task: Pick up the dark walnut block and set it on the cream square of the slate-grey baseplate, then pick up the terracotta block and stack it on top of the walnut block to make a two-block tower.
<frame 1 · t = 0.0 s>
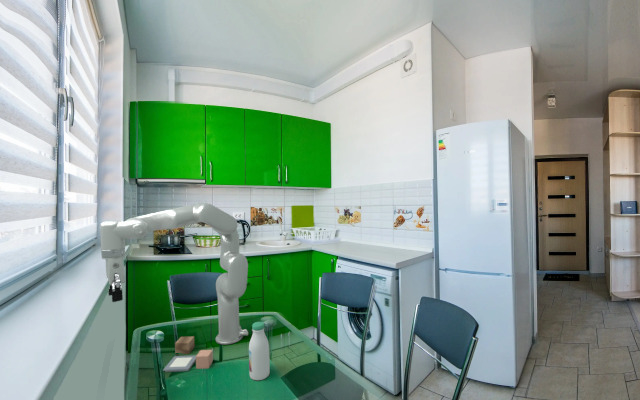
hand: (115, 297, 116), 31 cm above the table, tool pointing down, fingers open, 9 cm apart
walnut block: (185, 350, 137), on the table
milk bottle: (259, 375, 117), on the table
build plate: (181, 364, 126), on the table
terracotta block: (204, 365, 125), on the table
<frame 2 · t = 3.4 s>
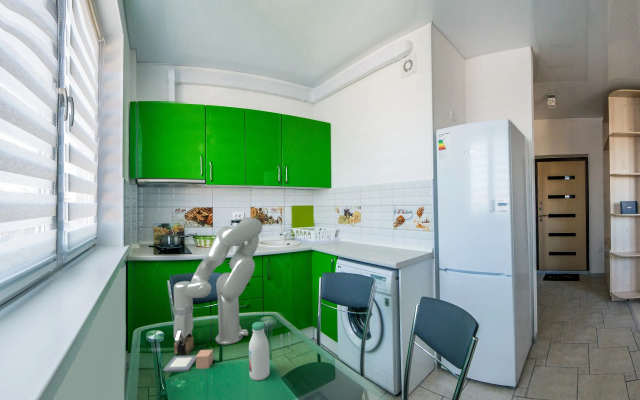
hand: (185, 348, 137), 1 cm above the table, tool pointing down, fingers open, 6 cm apart
walnut block: (184, 351, 136), on the table, touching gripper
everything else where it was.
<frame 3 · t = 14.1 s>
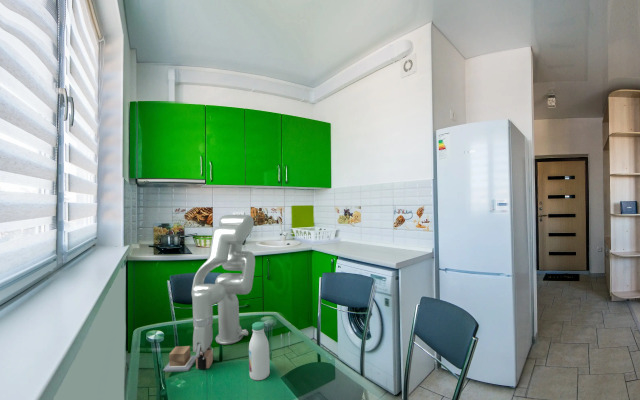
hand: (204, 363, 125), 0 cm above the table, tool pointing down, fingers closed on terracotta block, 5 cm apart
walnut block: (180, 361, 126), point 1 cm above the table, touching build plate
terracotta block: (204, 364, 125), on the table, touching gripper
everything else where it was.
when the fingers open (7 cm above the table, at t = 18.5 s): terracotta block drops 1 cm, resting on walnut block.
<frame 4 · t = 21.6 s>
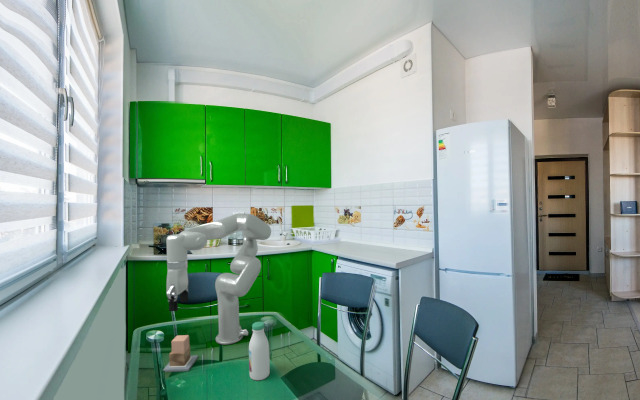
hand: (179, 306, 125), 24 cm above the table, tool pointing down, fingers open, 9 cm apart
walnut block: (180, 361, 126), point 1 cm above the table, touching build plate, terracotta block
terracotta block: (180, 350, 126), point 6 cm above the table, touching walnut block
everything else where it was.
at the end: walnut block 0.4 cm off-centre on the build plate, point 0.9 cm above the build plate's base; terracotta block 0.4 cm off-centre on the walnut block, point 5.0 cm above the walnut block's base; terracotta block tilted 0° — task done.
